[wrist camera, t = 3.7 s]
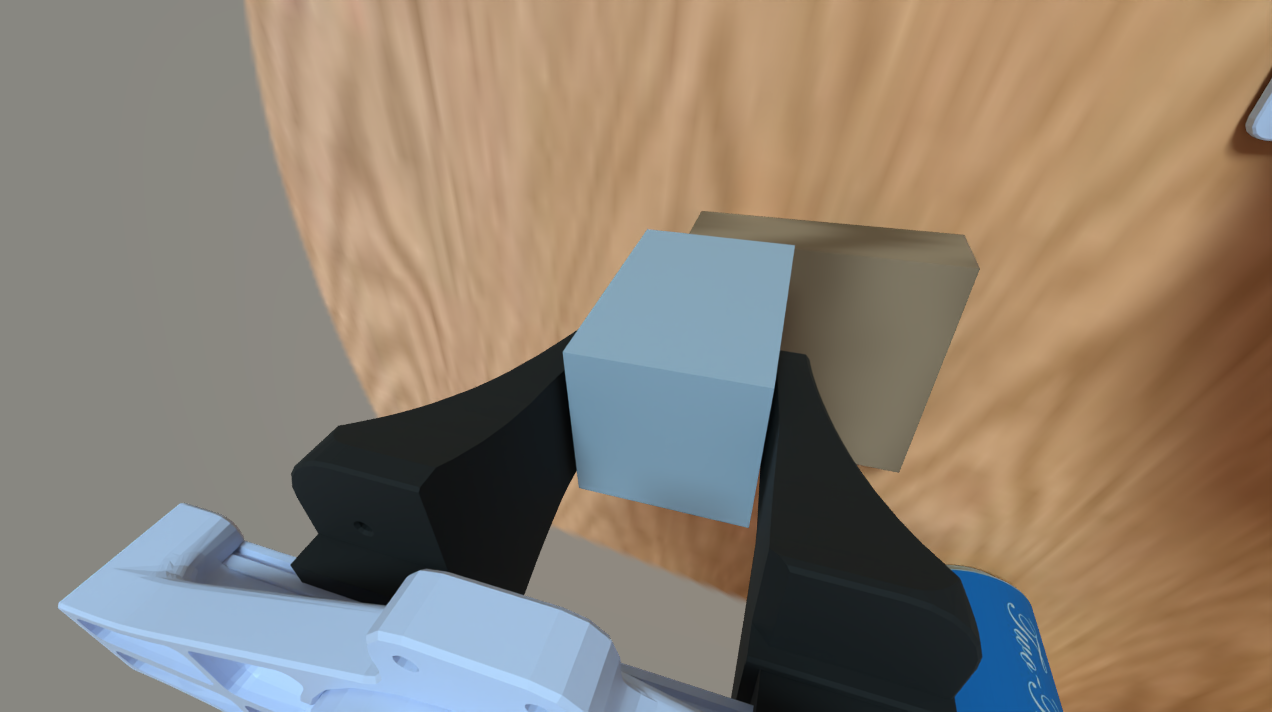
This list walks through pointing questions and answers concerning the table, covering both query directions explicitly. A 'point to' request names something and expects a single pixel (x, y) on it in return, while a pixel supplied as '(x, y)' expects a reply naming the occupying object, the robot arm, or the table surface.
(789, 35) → the table surface
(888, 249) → the taupe plinth
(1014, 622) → the beverage can
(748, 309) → the slate-blue block
